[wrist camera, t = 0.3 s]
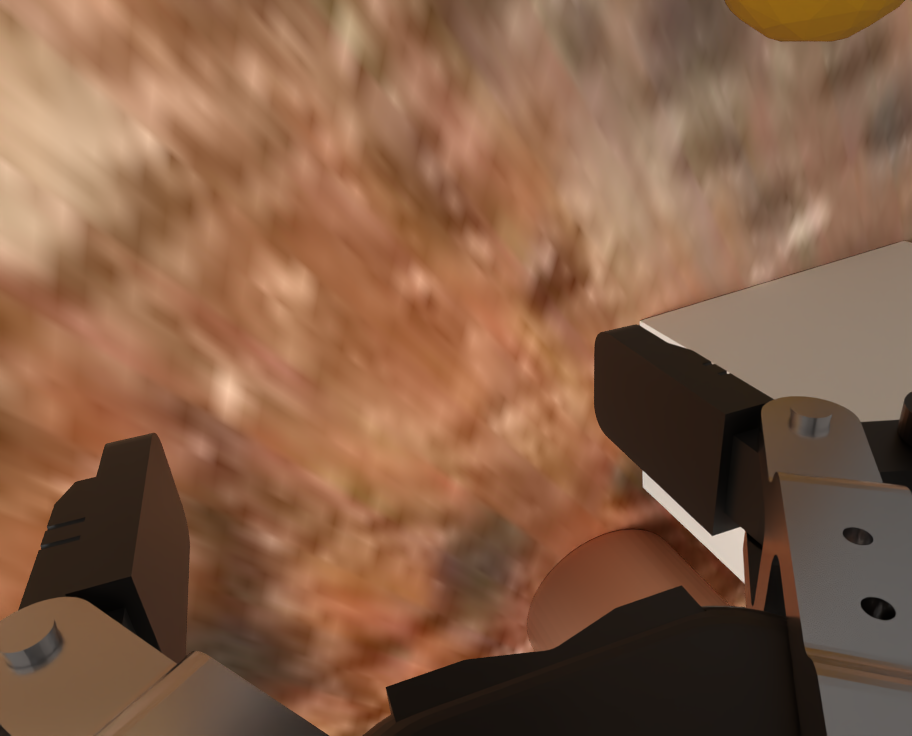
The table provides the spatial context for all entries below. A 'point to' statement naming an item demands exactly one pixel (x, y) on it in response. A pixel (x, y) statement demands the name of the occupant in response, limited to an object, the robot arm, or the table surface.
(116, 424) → the table surface
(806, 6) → the apple
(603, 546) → the terracotta pot
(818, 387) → the upright grey panel box
